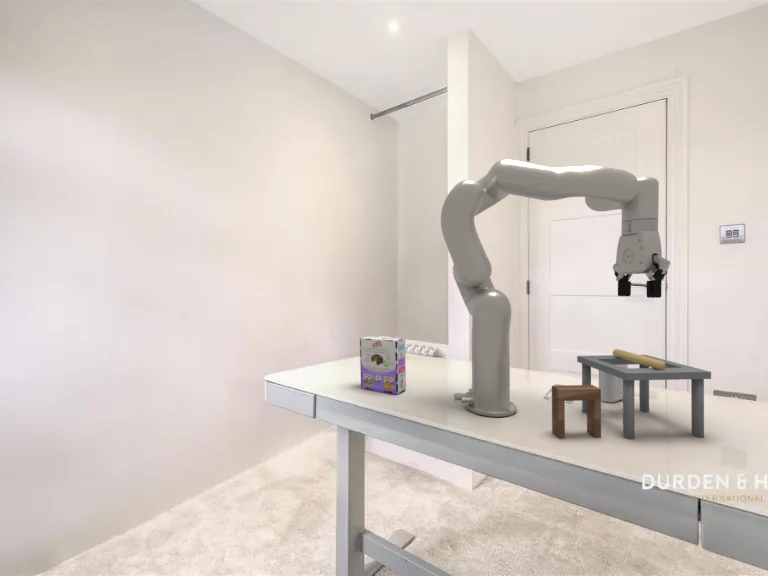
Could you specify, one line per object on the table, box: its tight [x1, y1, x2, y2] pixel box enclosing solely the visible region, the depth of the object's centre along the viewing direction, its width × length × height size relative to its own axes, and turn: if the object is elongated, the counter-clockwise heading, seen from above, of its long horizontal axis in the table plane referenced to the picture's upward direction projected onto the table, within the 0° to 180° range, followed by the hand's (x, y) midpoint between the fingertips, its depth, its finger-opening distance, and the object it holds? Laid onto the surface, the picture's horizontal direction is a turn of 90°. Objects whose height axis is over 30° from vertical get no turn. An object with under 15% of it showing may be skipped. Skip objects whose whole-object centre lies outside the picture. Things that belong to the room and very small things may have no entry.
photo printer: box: [598, 364, 629, 404], centre depth 100 cm, size 10×4×12 cm, turn 123°
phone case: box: [543, 383, 574, 404], centre depth 105 cm, size 7×1×15 cm
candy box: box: [359, 335, 407, 395], centre depth 111 cm, size 14×6×16 cm, turn 58°
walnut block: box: [551, 384, 602, 440], centre depth 76 cm, size 3×9×10 cm, turn 92°
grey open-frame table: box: [576, 348, 712, 440], centre depth 83 cm, size 18×18×16 cm
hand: (638, 296), depth 89 cm, fingers open, 9 cm apart
